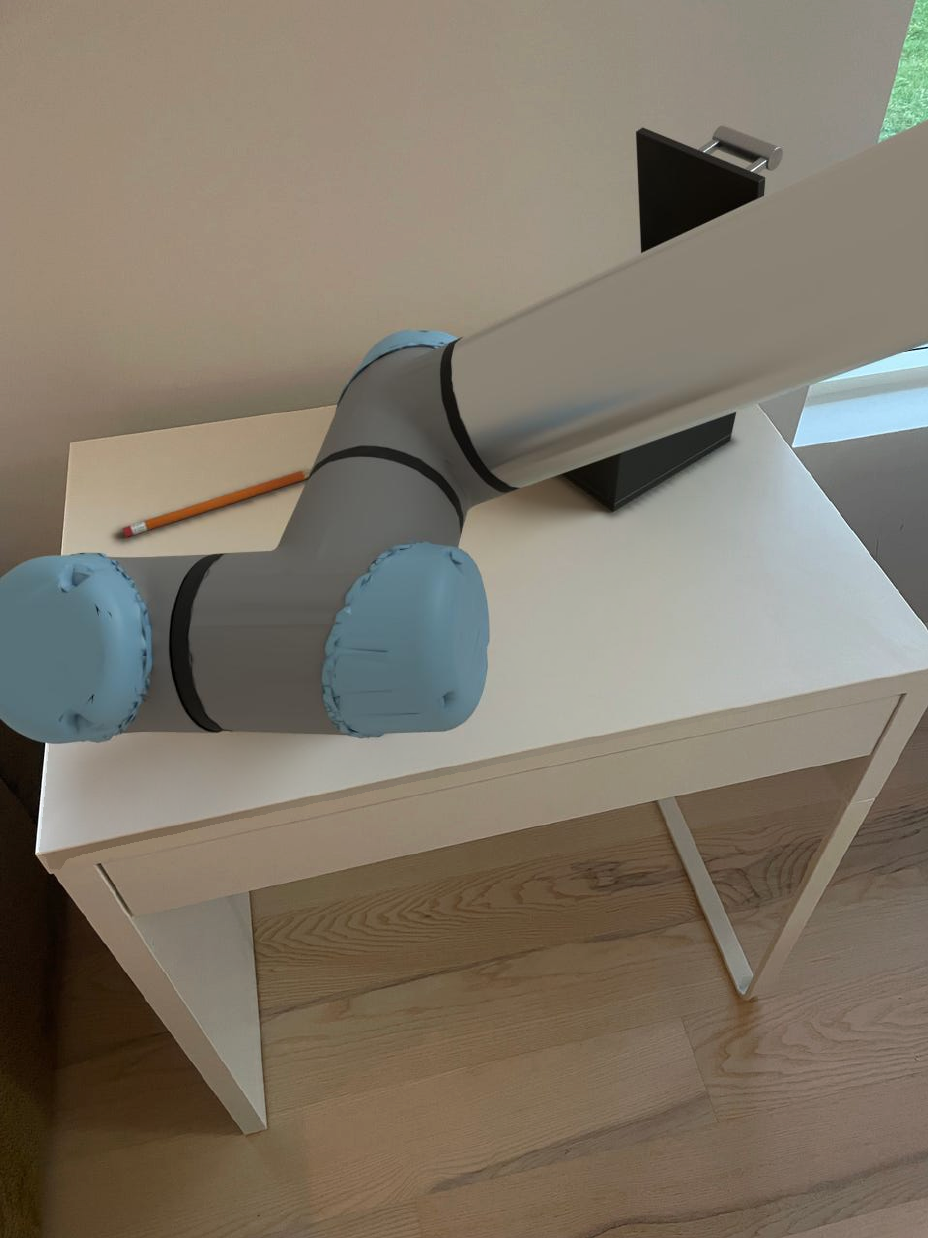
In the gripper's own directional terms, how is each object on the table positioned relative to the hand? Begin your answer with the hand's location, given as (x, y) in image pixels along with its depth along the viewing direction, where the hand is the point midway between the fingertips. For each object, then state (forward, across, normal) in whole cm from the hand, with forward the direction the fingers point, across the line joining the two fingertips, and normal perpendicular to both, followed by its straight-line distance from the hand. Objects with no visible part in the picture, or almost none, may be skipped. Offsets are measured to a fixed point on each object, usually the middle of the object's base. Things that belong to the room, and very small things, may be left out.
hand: (389, 624), depth 74 cm
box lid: (+16, +13, +36) cm, 42 cm away
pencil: (+11, -22, +5) cm, 25 cm away
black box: (+25, +10, +20) cm, 34 cm away
